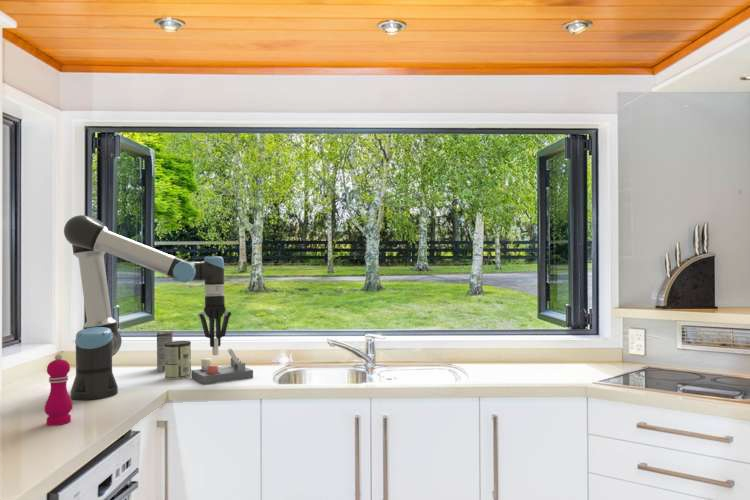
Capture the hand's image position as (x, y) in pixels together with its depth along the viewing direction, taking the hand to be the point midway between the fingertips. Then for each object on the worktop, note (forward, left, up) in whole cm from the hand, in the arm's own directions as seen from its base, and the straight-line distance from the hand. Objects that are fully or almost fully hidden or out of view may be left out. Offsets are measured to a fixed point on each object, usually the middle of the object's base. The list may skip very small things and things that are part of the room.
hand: (215, 354), depth 228 cm
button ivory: (-1, +8, -8) cm, 11 cm away
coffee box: (-10, +38, -10) cm, 40 cm away
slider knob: (+11, +8, -7) cm, 15 cm away
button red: (-1, 0, -9) cm, 9 cm away
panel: (+4, +4, -10) cm, 11 cm away
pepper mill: (-57, -31, -10) cm, 66 cm away
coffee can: (-10, +17, -10) cm, 22 cm away
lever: (+10, 0, -6) cm, 11 cm away
